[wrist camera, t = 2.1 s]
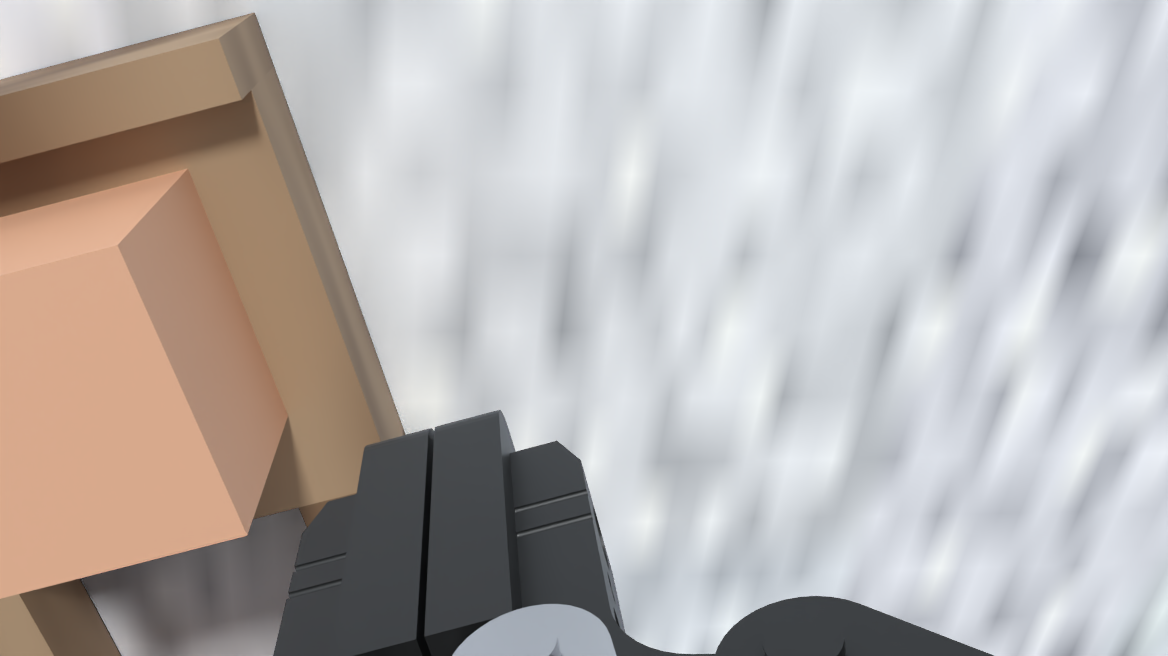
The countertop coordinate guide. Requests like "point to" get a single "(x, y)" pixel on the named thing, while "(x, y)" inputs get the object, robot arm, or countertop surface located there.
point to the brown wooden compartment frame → (246, 238)
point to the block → (125, 386)
